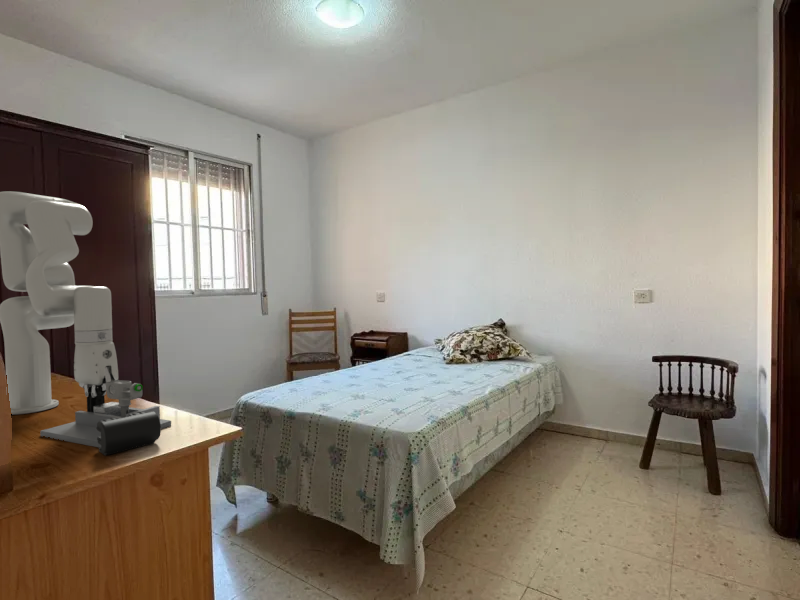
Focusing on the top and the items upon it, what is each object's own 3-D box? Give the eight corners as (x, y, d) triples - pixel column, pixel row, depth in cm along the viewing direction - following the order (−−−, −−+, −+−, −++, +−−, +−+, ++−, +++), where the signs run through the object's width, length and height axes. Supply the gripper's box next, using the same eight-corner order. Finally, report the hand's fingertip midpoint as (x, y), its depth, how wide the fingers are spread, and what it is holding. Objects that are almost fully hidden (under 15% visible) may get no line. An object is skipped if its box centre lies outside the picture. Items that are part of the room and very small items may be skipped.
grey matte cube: (94, 423, 104) (93, 406, 104) (112, 417, 108) (112, 401, 108) (105, 424, 103) (104, 407, 102) (123, 419, 107) (122, 403, 106)
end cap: (106, 460, 85) (105, 425, 84) (95, 452, 89) (94, 418, 89) (161, 445, 92) (160, 413, 92) (148, 438, 97) (147, 408, 97)
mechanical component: (134, 428, 100) (133, 384, 99) (104, 424, 104) (102, 382, 103) (146, 424, 103) (145, 382, 102) (116, 420, 106) (115, 379, 106)
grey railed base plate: (40, 436, 100) (39, 413, 99) (111, 416, 114) (110, 396, 114) (103, 448, 91) (102, 423, 91) (171, 425, 106) (170, 404, 105)
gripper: (129, 336, 107) (131, 411, 108) (90, 334, 113) (92, 405, 114) (97, 340, 100) (100, 420, 101) (57, 337, 106) (60, 412, 107)
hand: (96, 411), depth 107 cm, fingers closed
